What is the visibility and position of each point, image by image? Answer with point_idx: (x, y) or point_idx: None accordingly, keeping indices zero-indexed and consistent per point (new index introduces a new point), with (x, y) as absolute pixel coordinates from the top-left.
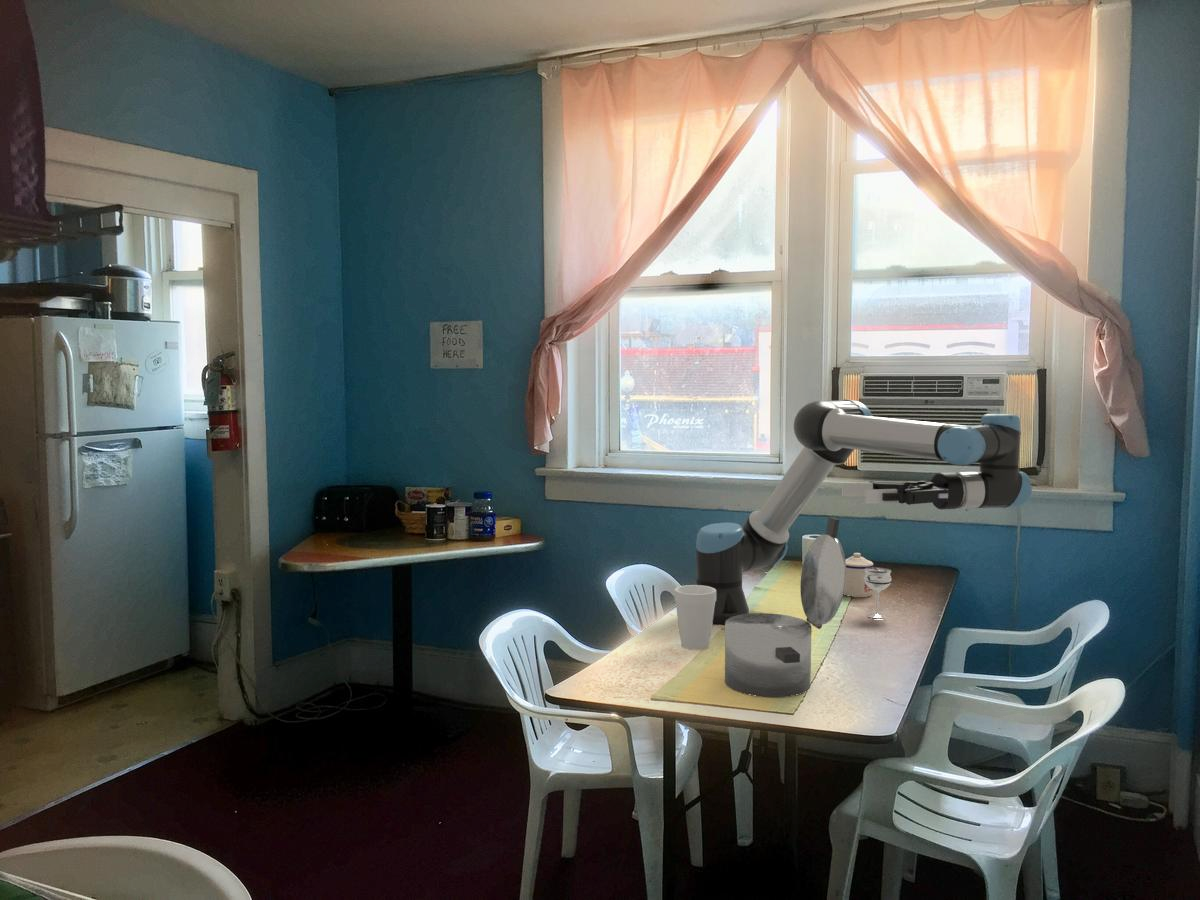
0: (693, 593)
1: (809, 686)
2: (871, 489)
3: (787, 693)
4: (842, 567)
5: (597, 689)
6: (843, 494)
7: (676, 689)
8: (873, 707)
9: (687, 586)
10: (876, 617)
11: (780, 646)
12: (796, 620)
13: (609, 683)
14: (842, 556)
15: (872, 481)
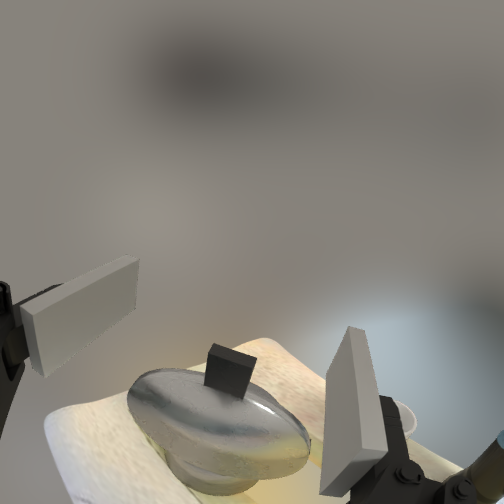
0: (408, 427)
1: (173, 473)
2: (339, 467)
3: None
4: (135, 381)
5: (265, 354)
6: (330, 367)
7: None
8: (85, 471)
9: (412, 416)
10: None
11: None
12: None
13: (274, 364)
14: (146, 376)
15: (456, 489)
